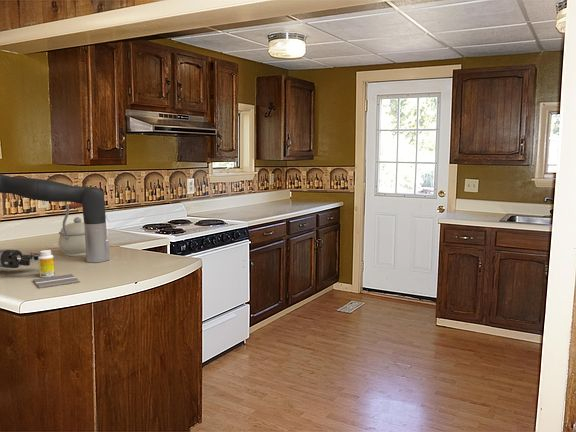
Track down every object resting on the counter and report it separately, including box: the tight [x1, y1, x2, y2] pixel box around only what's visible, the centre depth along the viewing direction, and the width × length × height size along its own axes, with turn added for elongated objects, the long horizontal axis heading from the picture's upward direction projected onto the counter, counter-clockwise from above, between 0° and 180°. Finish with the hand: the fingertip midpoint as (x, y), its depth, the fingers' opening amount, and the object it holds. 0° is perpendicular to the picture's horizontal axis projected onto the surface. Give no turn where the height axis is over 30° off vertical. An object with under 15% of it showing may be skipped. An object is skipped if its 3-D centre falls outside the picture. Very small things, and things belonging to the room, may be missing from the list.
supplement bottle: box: [37, 249, 56, 278], centre depth 204 cm, size 6×6×10 cm
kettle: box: [58, 202, 86, 257], centre depth 251 cm, size 25×18×25 cm
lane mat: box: [32, 273, 81, 289], centre depth 195 cm, size 14×14×1 cm
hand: (37, 260), depth 205 cm, fingers open, 8 cm apart
